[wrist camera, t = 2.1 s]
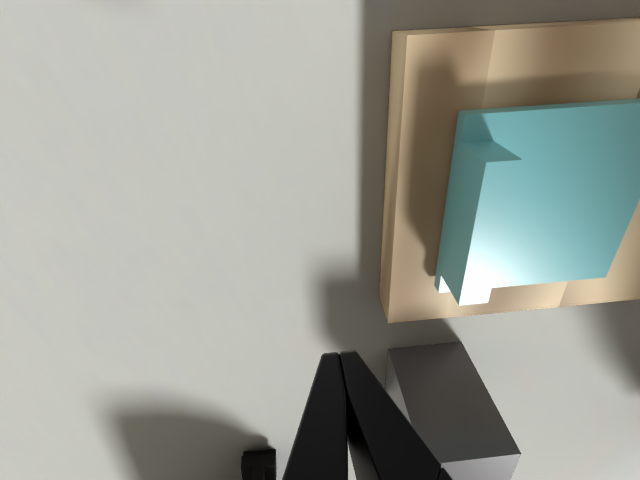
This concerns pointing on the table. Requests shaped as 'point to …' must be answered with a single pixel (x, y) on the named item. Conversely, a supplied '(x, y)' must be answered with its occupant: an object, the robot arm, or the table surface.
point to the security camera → (259, 465)
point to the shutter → (538, 195)
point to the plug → (451, 410)
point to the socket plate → (439, 135)
